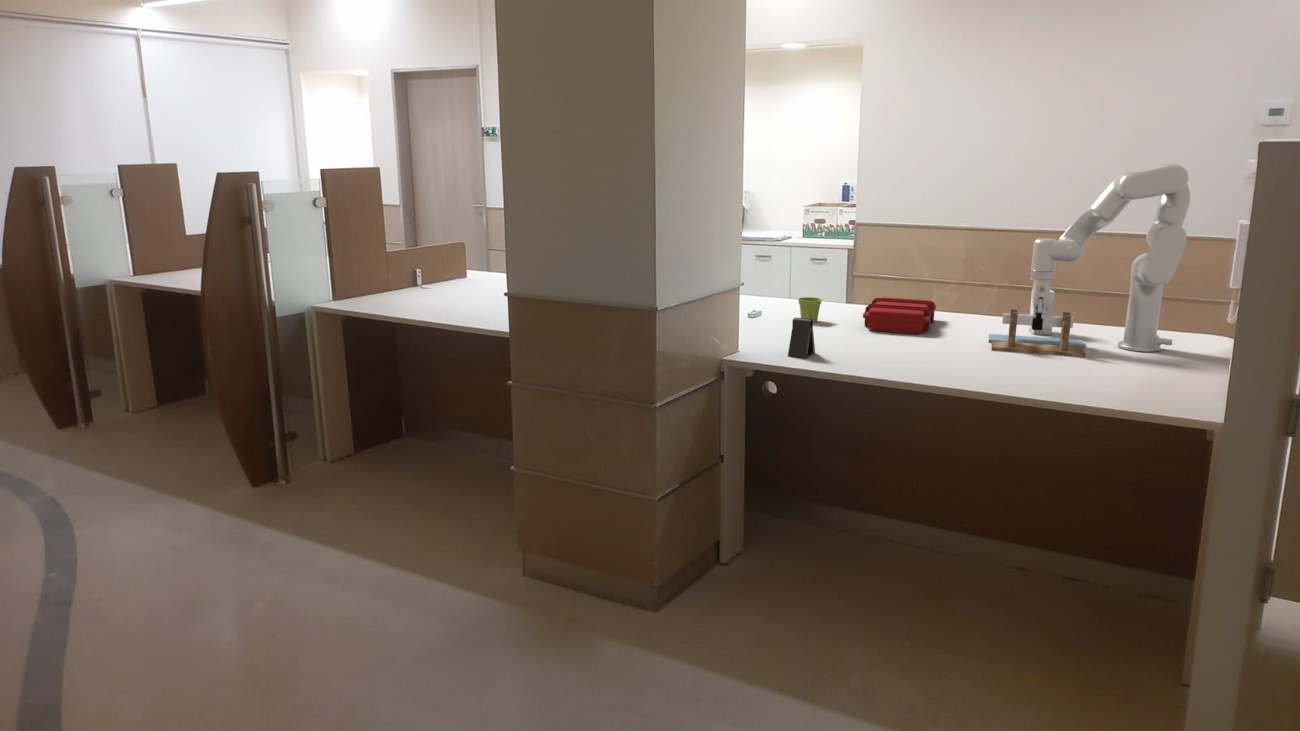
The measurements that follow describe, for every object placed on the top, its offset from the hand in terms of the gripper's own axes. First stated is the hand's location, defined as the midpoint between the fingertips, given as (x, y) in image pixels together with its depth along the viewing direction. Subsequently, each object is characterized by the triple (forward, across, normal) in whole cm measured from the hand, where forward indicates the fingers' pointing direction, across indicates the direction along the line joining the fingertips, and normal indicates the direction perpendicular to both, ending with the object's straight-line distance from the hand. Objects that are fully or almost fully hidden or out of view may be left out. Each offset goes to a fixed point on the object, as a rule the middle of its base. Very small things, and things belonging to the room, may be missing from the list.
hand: (1036, 328), depth 307 cm
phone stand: (+5, -44, +72) cm, 85 cm away
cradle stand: (+5, -12, 0) cm, 13 cm away
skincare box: (+5, +18, -2) cm, 19 cm away
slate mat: (+5, 0, 0) cm, 5 cm away
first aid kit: (+6, +15, +47) cm, 49 cm away
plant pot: (+5, +11, +80) cm, 81 cm away
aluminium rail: (-1, 0, 0) cm, 1 cm away
